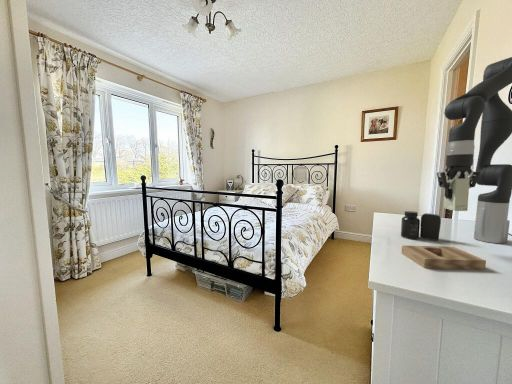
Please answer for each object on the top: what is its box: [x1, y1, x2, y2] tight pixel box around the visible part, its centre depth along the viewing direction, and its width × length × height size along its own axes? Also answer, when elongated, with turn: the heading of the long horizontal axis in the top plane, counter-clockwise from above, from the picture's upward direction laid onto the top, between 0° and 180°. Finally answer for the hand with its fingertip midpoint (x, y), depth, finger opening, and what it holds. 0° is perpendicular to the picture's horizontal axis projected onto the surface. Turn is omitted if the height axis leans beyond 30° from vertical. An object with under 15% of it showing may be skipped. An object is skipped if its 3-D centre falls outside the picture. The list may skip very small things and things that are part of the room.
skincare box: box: [443, 177, 470, 212], centre depth 82 cm, size 6×4×12 cm
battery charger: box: [419, 212, 442, 241], centre depth 96 cm, size 7×4×11 cm, turn 46°
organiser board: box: [401, 245, 487, 271], centre depth 73 cm, size 18×12×3 cm, turn 86°
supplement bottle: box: [400, 210, 421, 240], centre depth 98 cm, size 7×7×12 cm
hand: (455, 198), depth 82 cm, fingers closed on skincare box, 4 cm apart
